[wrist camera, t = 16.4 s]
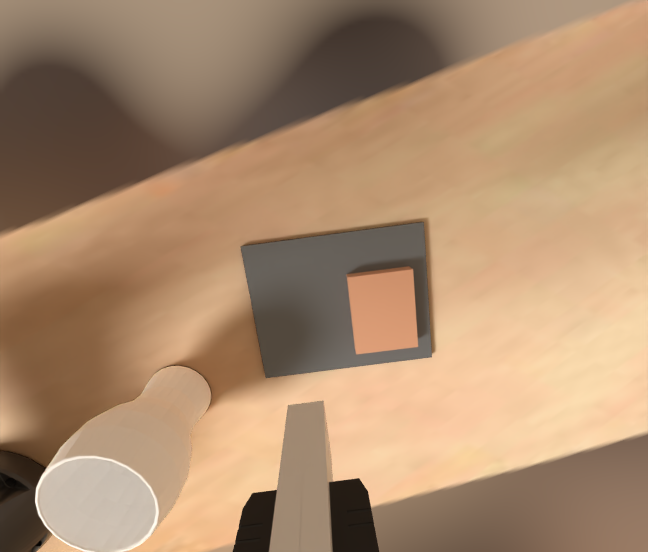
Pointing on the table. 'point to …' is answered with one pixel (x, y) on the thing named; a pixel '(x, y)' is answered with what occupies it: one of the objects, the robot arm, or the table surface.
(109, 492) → the cup
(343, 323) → the mat
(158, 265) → the table surface
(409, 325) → the slab
